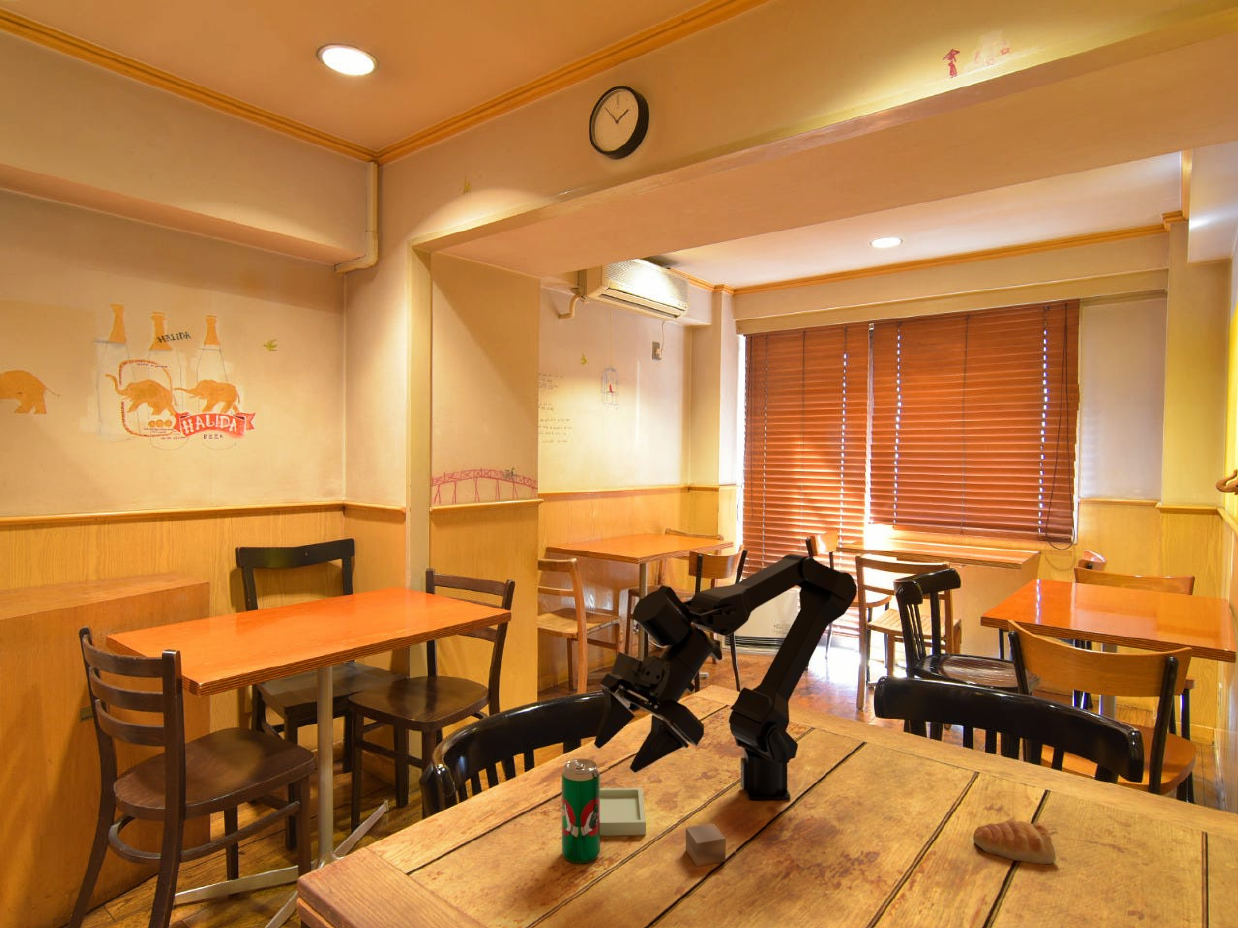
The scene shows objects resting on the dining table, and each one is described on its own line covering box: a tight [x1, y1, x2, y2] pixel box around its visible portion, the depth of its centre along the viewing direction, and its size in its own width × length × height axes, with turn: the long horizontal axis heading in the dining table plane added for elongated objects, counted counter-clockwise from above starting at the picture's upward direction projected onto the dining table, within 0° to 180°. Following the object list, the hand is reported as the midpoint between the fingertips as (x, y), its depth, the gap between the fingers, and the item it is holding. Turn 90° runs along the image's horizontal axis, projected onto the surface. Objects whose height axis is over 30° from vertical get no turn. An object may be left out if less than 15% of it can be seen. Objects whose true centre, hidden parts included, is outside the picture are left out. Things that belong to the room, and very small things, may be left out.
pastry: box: [972, 819, 1057, 865], centre depth 96 cm, size 9×7×4 cm
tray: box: [600, 787, 647, 837], centre depth 105 cm, size 10×10×2 cm
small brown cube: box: [685, 823, 727, 867], centre depth 94 cm, size 4×4×3 cm
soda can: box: [561, 758, 601, 865], centre depth 94 cm, size 5×5×12 cm
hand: (613, 758), depth 97 cm, fingers open, 9 cm apart
